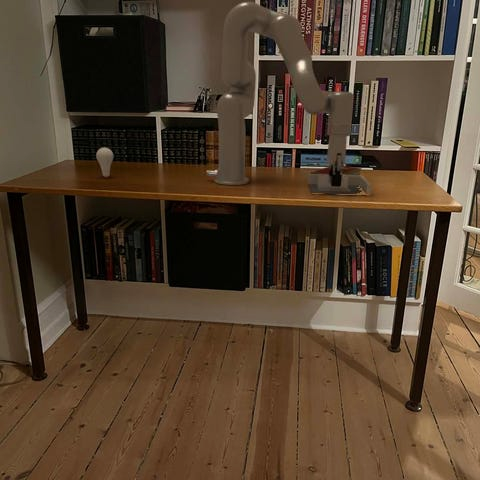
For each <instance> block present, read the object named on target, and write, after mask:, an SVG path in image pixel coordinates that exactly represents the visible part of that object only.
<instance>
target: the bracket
mask: <svg viewBox="0 0 480 480" xmlns="http://www.w3.org/2000/svg"><path fill="white" fill-rule="evenodd" d="M331 181H332V176H322V175H318V181H317V189H318V190H339V191H347V188H348V176H347V175H346V174H342V181H341V186H340V187H334V186H331Z"/></svg>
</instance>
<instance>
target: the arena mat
mask: <svg viewBox="0 0 480 480" xmlns="http://www.w3.org/2000/svg"><path fill="white" fill-rule="evenodd" d="M309 187H310V188H309ZM357 187H359V186H353V185H348V188H347V191H339V190H318V189H317V184H309V186H308V188H309V190H311V191H310V193H311V192H312V193H323V194H357V193H360V192H362V191H361V190H359V189H360V188H361V187H360V188H357Z"/></svg>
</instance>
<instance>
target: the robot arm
mask: <svg viewBox="0 0 480 480" xmlns="http://www.w3.org/2000/svg"><path fill="white" fill-rule="evenodd" d="M249 32H252V33H253V34H254V33H255V34H258V35H260V36H263V37H266V38H269V39H272V40H274V43H275V44H276V47H277V48H278V51H279V53H280V54H281V57H282V59H283V61H284V63H285V67H286V68H287V71H288V75H289V78H290V80H291V85H292V87H293V89H294V91H295V94H296V96H297V98H298V100H299V103H300V105H301V106H302V108H303V110H304V111H305V112H306V113H307V114H309V115H311V116H313V115H314V116H316V115H321V114H327V113H328V119H327V120H328V121H327V133H326V135H327V136H329V139H328V145H327V155H326V163H327V165H329V166H328V167H330V170H329V176H332V181H331V186H334V187H340V186H341V181H342V166H345V161H346V153H347V137H350V136H351V132H352V131H351V130H352V120H353V110H354V93H353V92H351V91H327V90H322V88H321V87H320V85H319V83H318V80H317V78H316V76H315V74H314V69H313V58H312V54H311V52H310V50H309V48H308V45H307V42H306V41H305V38H304V37H303V34H302V33H303V28H302V25H301V22H300V20H298V19H297V18H296V17H294V16H293V15H291V14H289V13H280V12H277V11H274V10H273V9H270V8H266V7H264V6H263V5H261V4H258V3H256V2H254V1H243V2H240V3H239V4H237V5H235V6H234V7H233V8H232V9H231V10H230V11H229V12H228V14H227V16H226V17H225V20H224V24H223V32H222V33H223V36H222V38H223V40H222V41H223V43H222V59H221V79H222V82H223V83H224V85H225V86H227V87H228V88H229V91H227V92H226V93H224V94H223V95H221V96H220V97H219V99H218V101H217V105H216V114H217V121H218V168H217V169H215V170H212V169H211V170H210V169H207V170H206V176H209V177H215V178H214V179H213V180H214V183H216V184H219V185H220V184H221V185H225V186H240V185H247V184H248V183H249V182H250V180H249V179H250V178H248V177H246V176H245V169H246V168H245V167H246V123H245V122H246V121H245V118H248V117H249V116H250V115H251V114H252V113H253V111H254V108H255V97H256V84H257V83H256V81H257V76H256V75H257V74H256V69H255V67H254V65H253V64H252V63H251V62H250V61H248V57H249V56H248V51H249V41H248V34H249Z"/></svg>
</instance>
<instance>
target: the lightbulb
mask: <svg viewBox="0 0 480 480" xmlns="http://www.w3.org/2000/svg"><path fill="white" fill-rule="evenodd" d="M95 156H96V160H97V162H98V163H99V165H100V168H101V171H102V176H103V177H104V178H108V177H110V175H111V174H110V173H111V172H110V170H111V165H112V162H113V161H114V153H113V151H112V150H111V149H110V148H108V147H101V148H99V149H98V150H97V152H96V155H95Z"/></svg>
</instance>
